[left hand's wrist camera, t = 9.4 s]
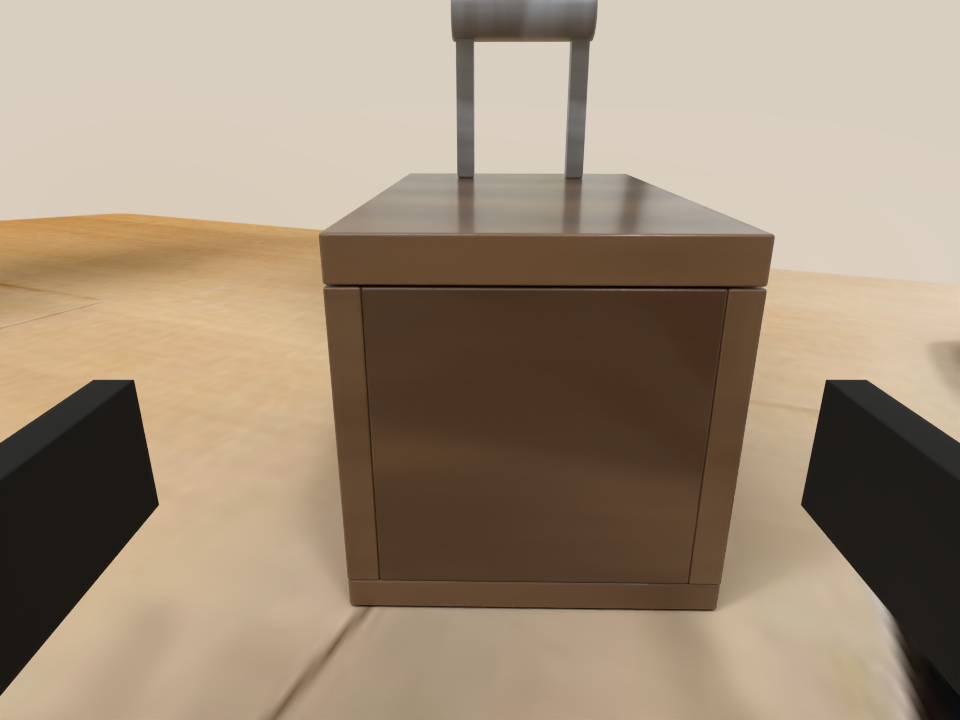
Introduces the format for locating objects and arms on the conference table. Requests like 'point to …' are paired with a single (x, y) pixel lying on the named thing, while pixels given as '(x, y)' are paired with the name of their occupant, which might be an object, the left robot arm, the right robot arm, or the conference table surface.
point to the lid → (537, 200)
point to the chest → (539, 441)
